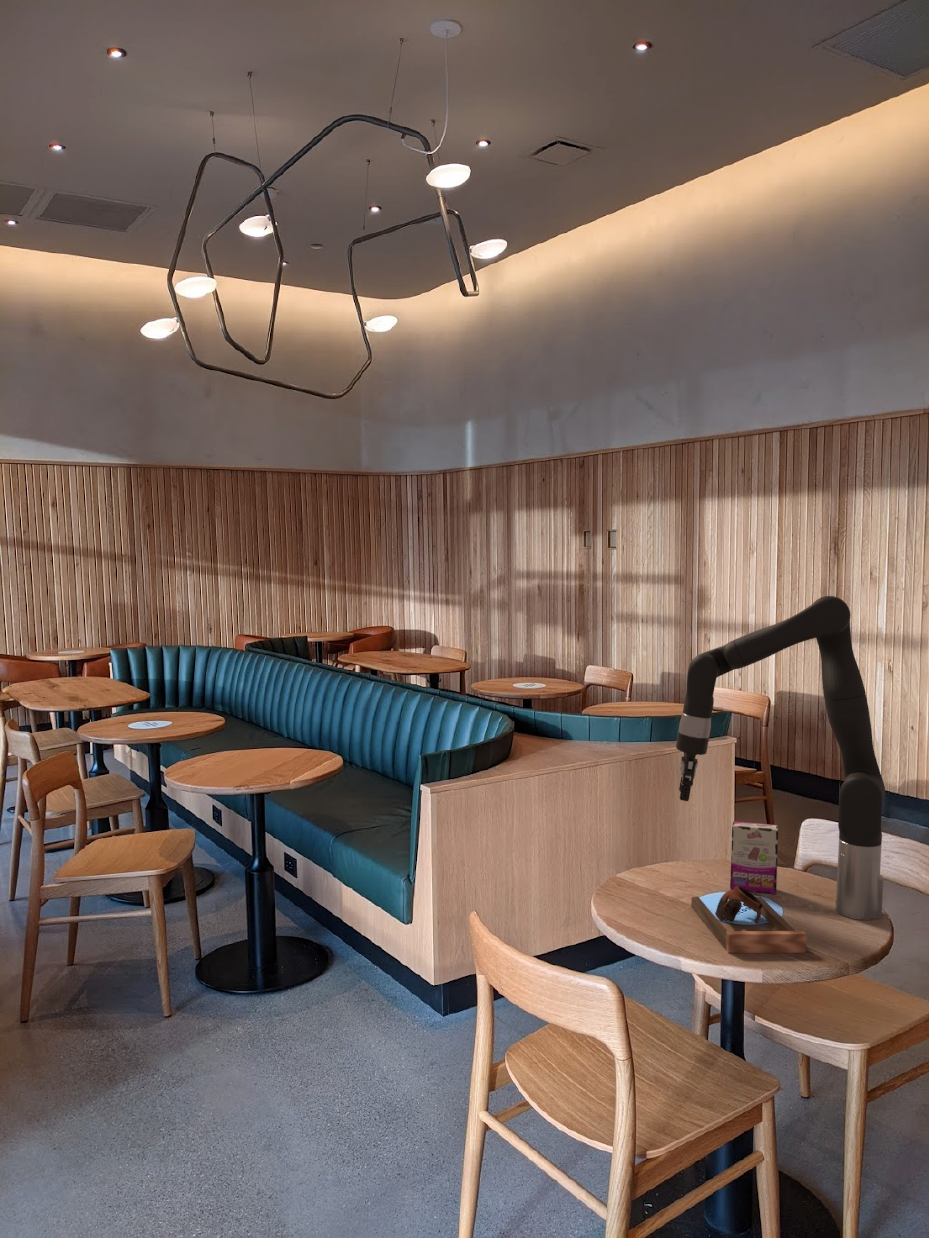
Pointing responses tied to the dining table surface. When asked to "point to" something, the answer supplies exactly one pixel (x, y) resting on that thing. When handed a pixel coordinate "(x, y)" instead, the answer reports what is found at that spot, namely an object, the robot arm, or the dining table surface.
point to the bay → (754, 933)
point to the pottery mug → (737, 904)
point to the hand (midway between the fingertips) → (683, 795)
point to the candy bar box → (754, 857)
